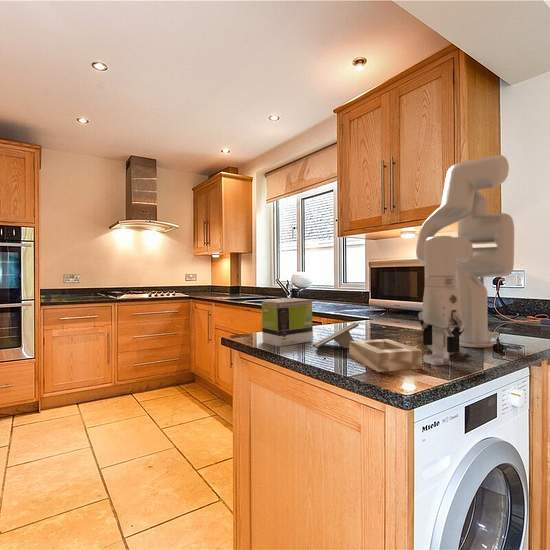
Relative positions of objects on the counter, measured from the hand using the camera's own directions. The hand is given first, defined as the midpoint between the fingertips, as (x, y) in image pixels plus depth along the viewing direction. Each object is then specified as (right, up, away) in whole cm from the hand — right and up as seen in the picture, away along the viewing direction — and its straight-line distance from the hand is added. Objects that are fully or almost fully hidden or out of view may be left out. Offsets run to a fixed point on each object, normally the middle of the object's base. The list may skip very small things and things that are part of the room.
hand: (440, 348), depth 95 cm
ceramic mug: (+6, -4, +10) cm, 13 cm away
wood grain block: (-1, -4, 0) cm, 4 cm away
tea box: (-39, -4, +30) cm, 49 cm away
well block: (-15, -4, +1) cm, 15 cm away
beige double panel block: (-25, -4, +19) cm, 31 cm away
